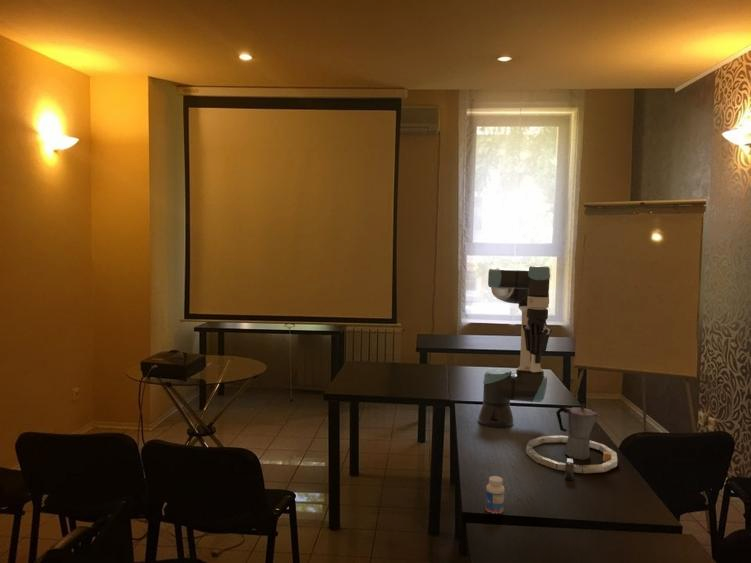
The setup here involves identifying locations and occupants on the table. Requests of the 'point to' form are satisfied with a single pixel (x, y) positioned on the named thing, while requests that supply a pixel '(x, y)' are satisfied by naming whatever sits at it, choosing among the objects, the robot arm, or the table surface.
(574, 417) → the moka pot
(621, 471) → the table surface
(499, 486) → the pill bottle
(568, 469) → the indicator ring
